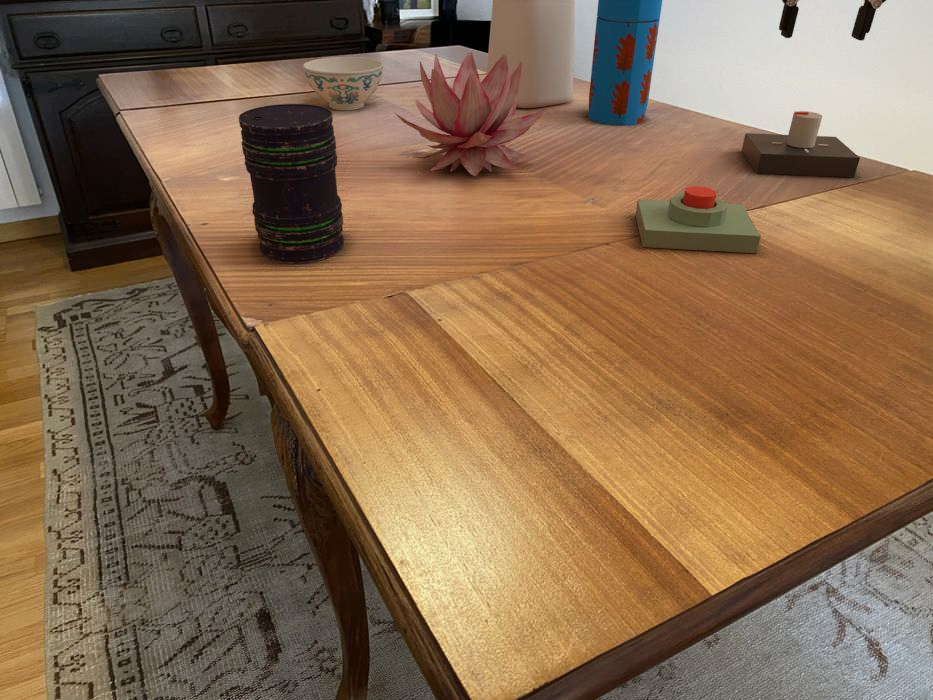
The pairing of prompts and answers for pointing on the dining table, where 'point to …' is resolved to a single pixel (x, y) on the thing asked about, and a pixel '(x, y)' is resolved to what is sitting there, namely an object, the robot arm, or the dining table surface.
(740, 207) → the switch block
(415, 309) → the dining table surface
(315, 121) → the dark brown cylinder
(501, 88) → the decorative flower
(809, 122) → the temp dial
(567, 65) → the plastic bottle
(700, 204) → the power button
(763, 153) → the dial base
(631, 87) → the thermos
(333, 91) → the chinaware
